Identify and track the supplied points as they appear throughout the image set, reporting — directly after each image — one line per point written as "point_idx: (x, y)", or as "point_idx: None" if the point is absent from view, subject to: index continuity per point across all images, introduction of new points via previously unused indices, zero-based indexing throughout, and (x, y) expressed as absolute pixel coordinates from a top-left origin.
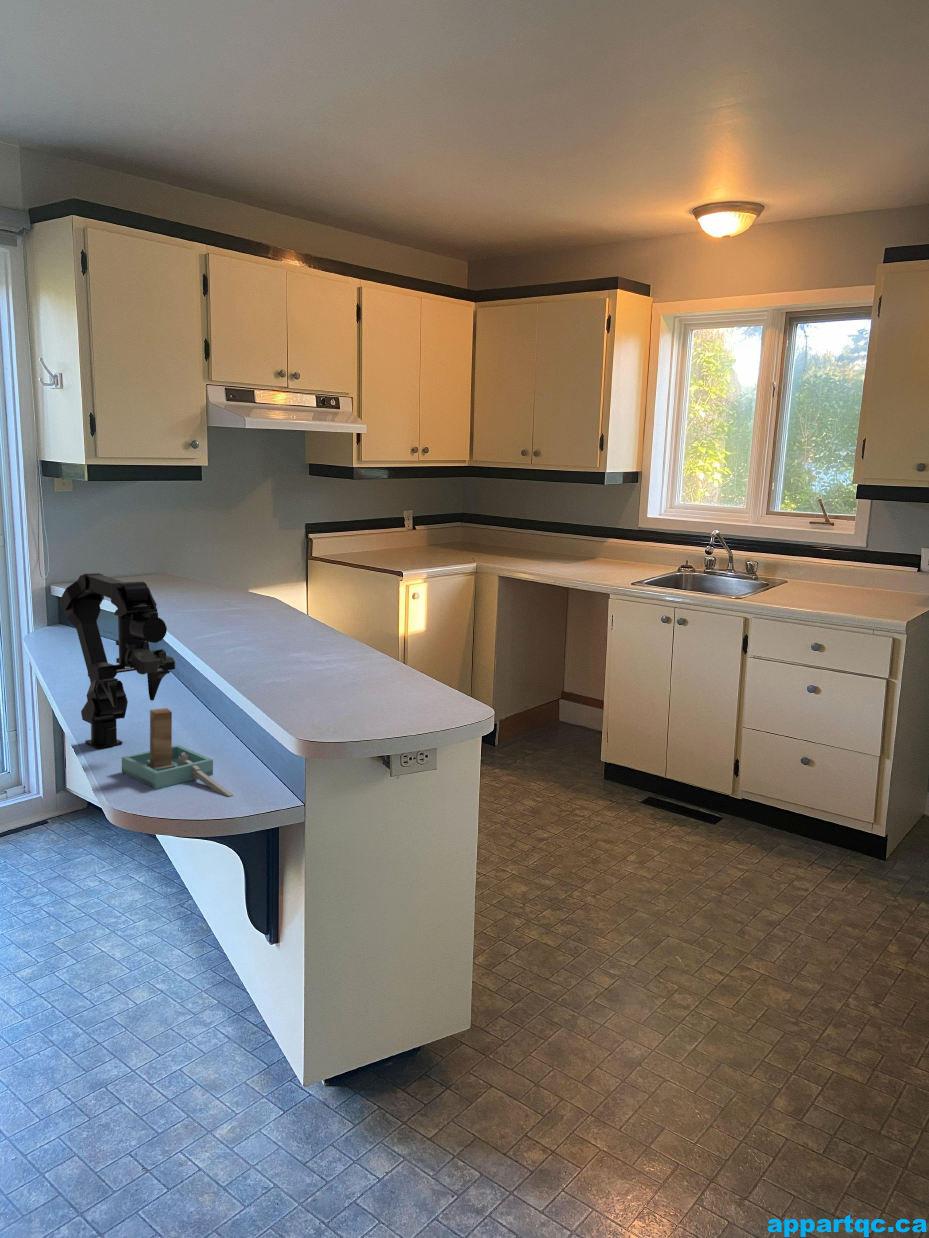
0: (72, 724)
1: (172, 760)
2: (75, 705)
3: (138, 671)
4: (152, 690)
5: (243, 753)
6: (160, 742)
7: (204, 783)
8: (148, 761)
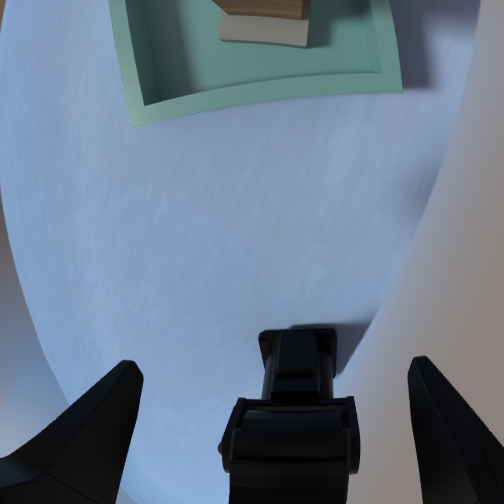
0: None
1: (188, 70)
2: None
3: None
4: (104, 417)
5: (5, 101)
6: None
7: None
8: (304, 29)
